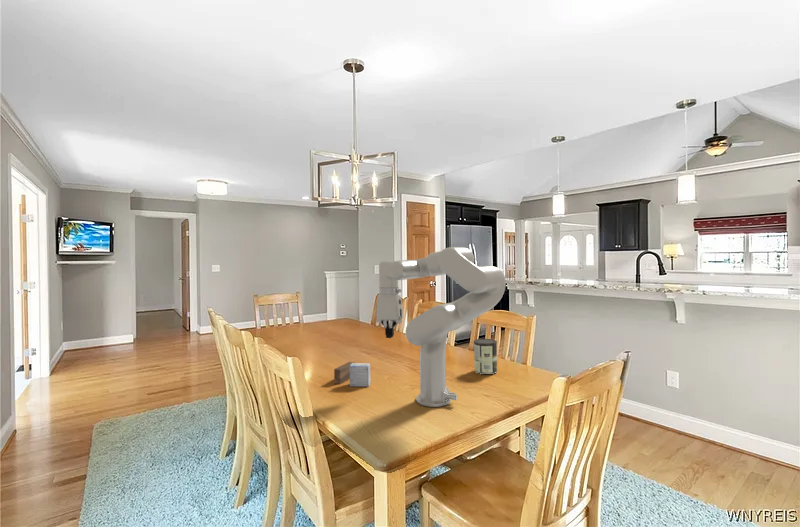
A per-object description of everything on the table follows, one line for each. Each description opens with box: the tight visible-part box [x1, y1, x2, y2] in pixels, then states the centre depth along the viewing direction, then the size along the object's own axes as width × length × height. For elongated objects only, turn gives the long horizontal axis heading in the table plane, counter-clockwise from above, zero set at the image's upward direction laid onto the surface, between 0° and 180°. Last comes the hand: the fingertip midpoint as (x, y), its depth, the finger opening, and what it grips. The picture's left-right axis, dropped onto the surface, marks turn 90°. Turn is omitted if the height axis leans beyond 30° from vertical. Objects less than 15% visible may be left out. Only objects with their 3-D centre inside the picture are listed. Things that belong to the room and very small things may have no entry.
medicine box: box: [349, 362, 372, 388], centre depth 163 cm, size 8×4×9 cm, turn 84°
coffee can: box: [473, 338, 498, 375], centre depth 178 cm, size 10×10×14 cm
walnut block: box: [333, 361, 356, 385], centre depth 171 cm, size 3×12×6 cm, turn 155°
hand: (389, 337), depth 157 cm, fingers closed
